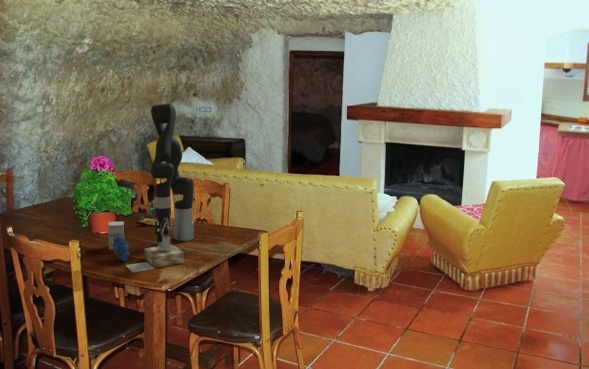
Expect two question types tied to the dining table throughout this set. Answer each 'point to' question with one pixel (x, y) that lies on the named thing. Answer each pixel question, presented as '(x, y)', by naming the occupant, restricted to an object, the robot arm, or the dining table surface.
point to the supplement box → (115, 231)
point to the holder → (163, 256)
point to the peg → (164, 244)
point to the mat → (140, 267)
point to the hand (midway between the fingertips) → (162, 239)
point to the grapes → (120, 247)
